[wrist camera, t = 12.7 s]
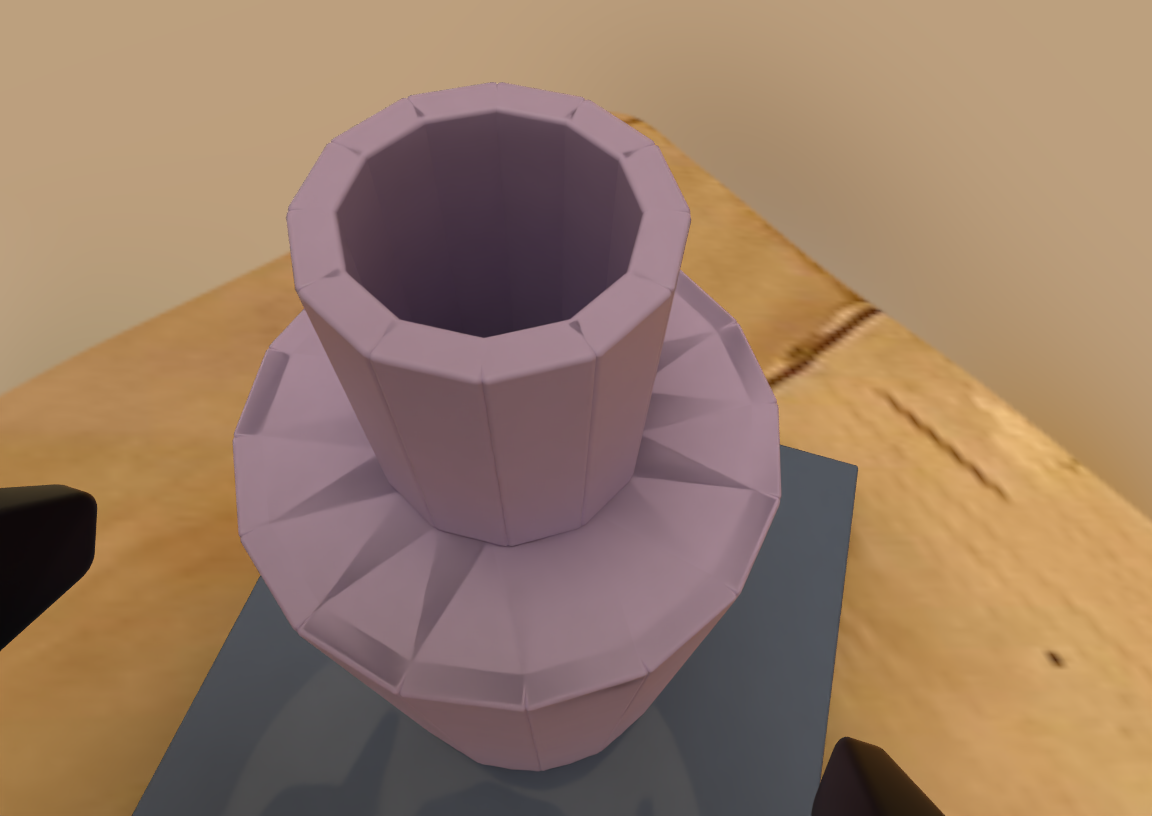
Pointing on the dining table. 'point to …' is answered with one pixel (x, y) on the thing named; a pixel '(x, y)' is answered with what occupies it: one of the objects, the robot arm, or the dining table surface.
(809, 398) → the dining table surface
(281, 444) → the vase
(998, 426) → the dining table surface
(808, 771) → the grey stepped slab
